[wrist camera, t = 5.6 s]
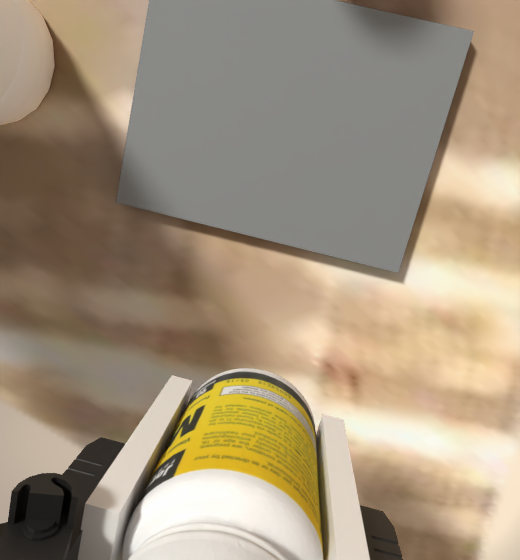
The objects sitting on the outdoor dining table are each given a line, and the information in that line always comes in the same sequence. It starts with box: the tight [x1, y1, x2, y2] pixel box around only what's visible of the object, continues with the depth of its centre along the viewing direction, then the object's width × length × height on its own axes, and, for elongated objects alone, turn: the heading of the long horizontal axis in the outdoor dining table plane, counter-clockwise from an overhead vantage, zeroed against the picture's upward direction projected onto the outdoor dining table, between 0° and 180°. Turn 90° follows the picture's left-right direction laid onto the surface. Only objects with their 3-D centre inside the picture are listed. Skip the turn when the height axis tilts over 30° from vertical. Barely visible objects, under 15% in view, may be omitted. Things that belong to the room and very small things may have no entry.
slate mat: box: [116, 0, 474, 273], centre depth 25 cm, size 17×13×1 cm
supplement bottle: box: [122, 368, 323, 560], centre depth 12 cm, size 5×5×8 cm
